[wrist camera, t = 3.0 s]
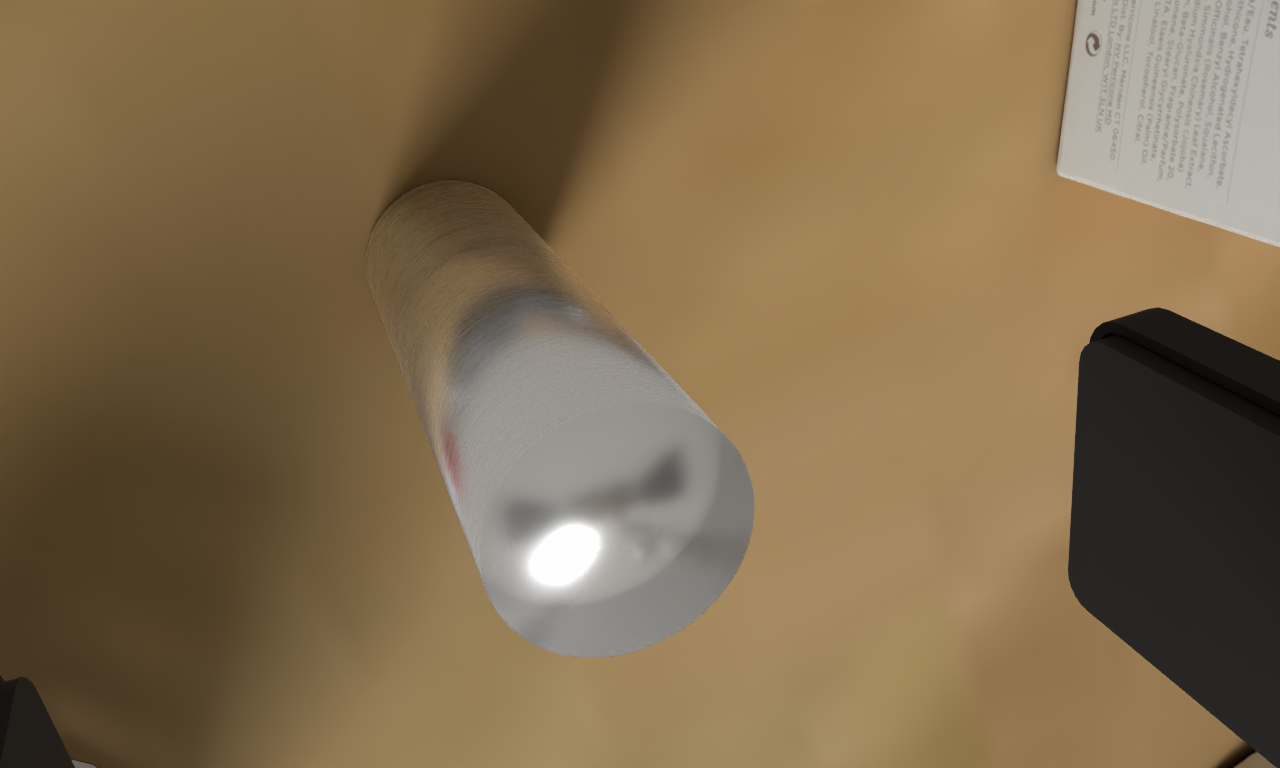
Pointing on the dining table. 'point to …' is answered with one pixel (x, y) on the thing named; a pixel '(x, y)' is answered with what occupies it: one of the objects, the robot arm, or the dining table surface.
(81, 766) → the french press
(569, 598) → the steel pin
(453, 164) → the dining table surface
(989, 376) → the dining table surface
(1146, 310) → the robot arm
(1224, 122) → the small box
